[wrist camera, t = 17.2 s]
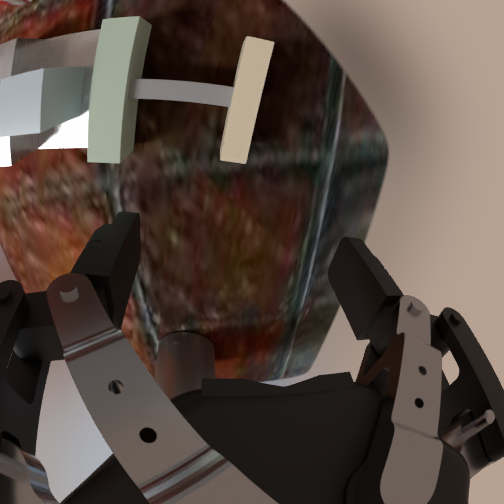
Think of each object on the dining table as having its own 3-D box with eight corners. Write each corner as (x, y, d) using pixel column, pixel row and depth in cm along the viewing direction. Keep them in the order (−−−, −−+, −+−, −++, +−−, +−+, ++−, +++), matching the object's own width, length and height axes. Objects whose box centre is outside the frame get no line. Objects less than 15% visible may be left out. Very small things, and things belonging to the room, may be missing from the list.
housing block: (80, 115, 19) (40, 132, 13) (41, 118, 18) (-1, 137, 12) (84, 66, 16) (43, 68, 11) (44, 72, 15) (0, 79, 10)
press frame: (130, 146, 23) (109, 165, 18) (23, 147, 20) (-8, 166, 15) (148, 27, 16) (128, 15, 11) (29, 45, 13) (-5, 46, 8)
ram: (239, 161, 24) (243, 176, 21) (104, 148, 21) (87, 162, 18) (268, 38, 17) (277, 30, 14) (120, 26, 15) (103, 19, 11)
